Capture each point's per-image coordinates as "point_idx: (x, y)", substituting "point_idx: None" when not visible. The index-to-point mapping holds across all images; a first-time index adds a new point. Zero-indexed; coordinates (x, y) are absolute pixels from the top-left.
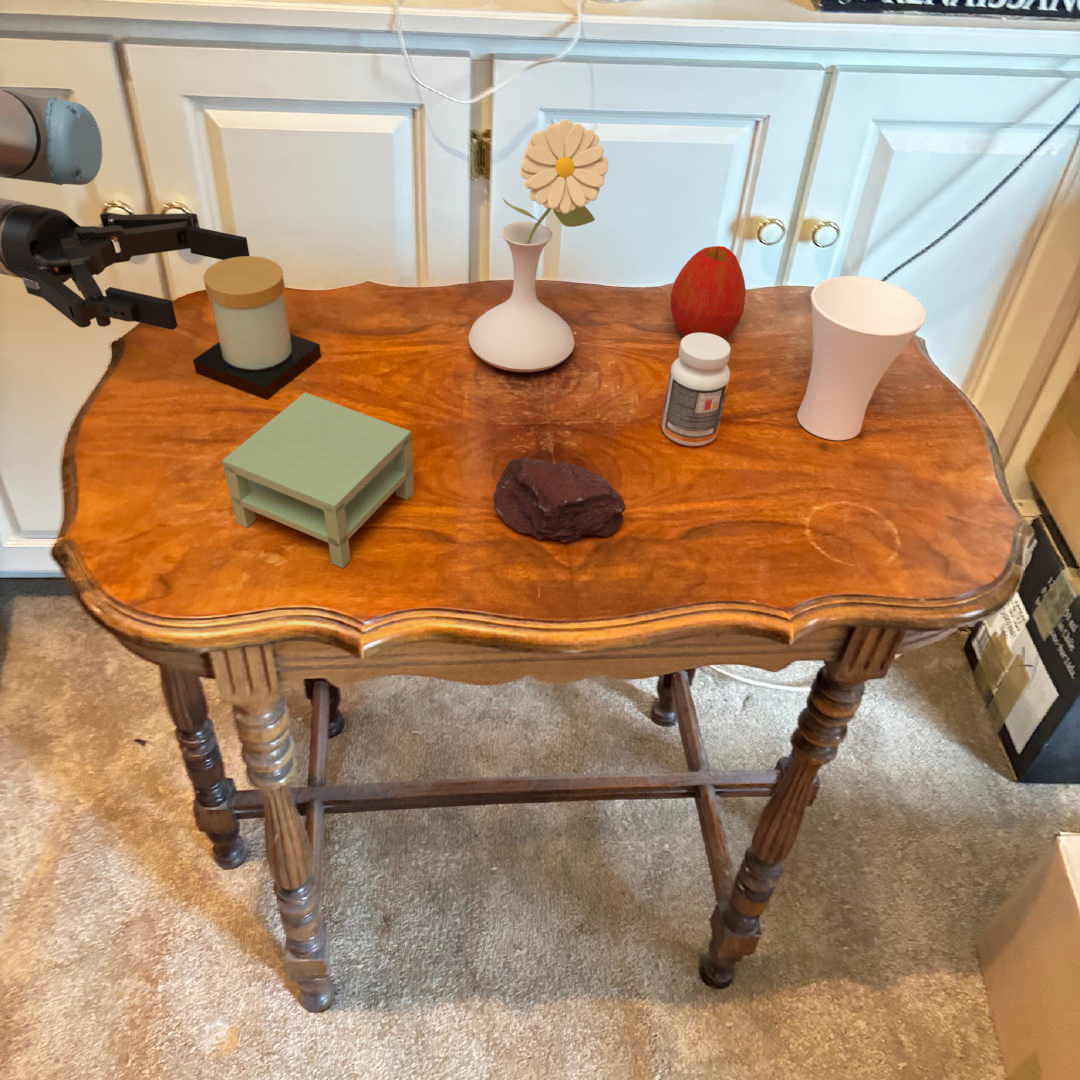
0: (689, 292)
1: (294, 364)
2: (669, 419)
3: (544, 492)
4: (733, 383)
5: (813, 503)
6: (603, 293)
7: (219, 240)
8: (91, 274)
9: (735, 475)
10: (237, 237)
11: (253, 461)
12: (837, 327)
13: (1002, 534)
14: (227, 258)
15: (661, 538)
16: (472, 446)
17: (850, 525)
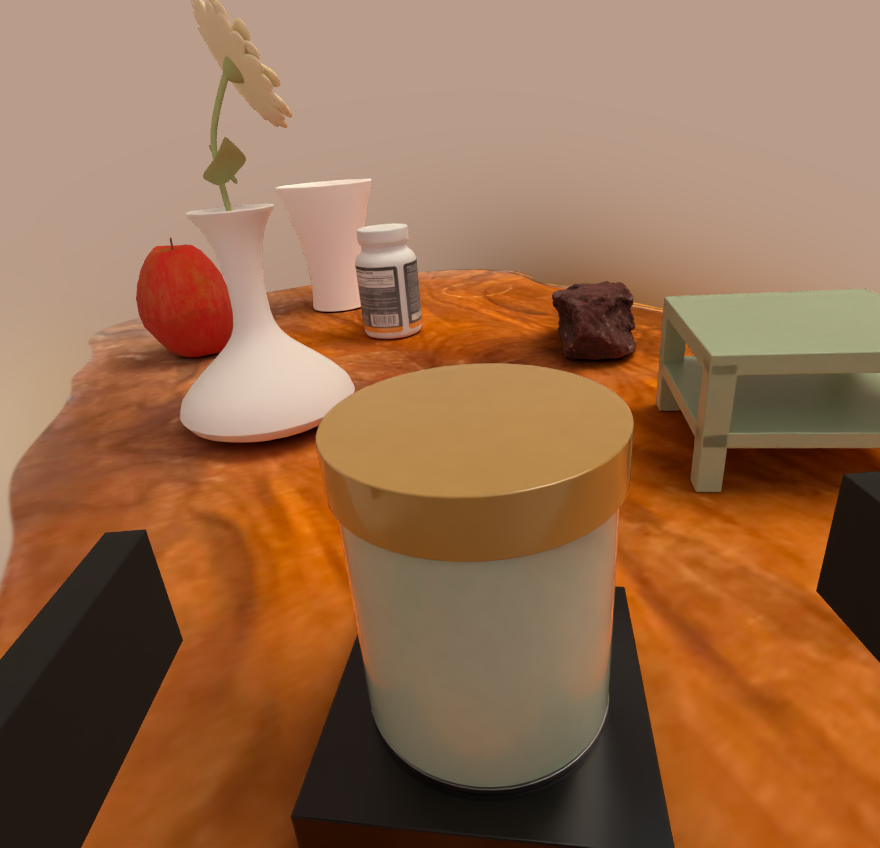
0: (210, 286)
1: None
2: (412, 311)
3: (619, 290)
4: (297, 332)
5: (454, 297)
6: (83, 410)
7: (80, 664)
8: None
9: (444, 314)
10: (104, 557)
11: None
12: (363, 185)
13: (436, 272)
14: (128, 726)
15: (556, 318)
16: None
17: (468, 290)
